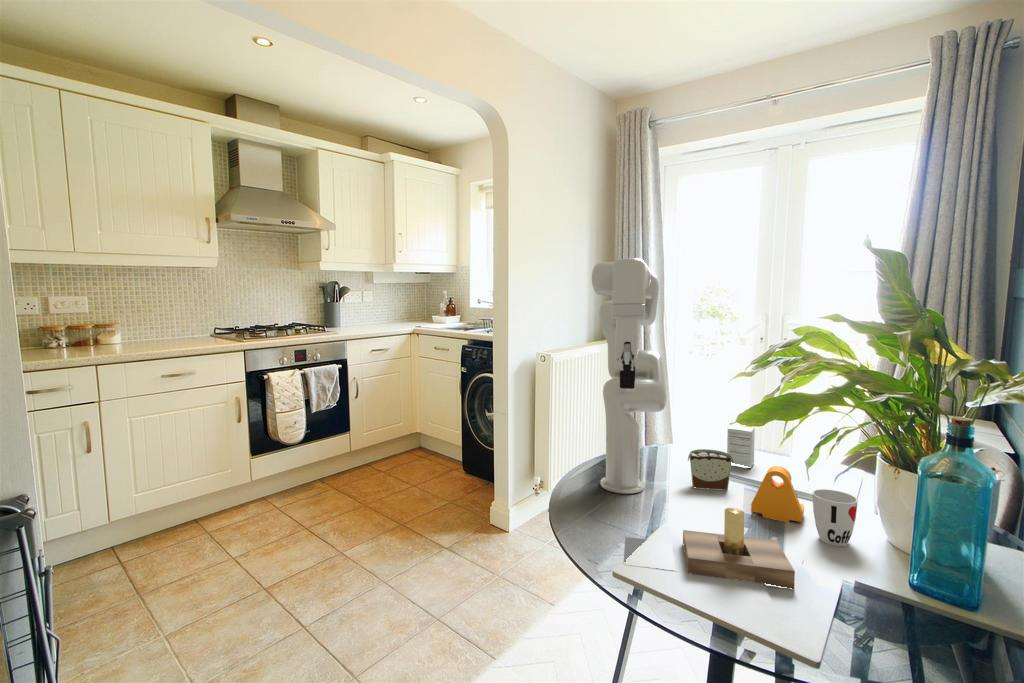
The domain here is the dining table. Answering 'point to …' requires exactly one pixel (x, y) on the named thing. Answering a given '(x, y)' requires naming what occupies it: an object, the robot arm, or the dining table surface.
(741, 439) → the supplement box
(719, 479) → the food container
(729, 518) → the peg
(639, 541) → the mat
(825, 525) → the cup
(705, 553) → the mortise block
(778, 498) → the bracket
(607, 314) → the robot arm
